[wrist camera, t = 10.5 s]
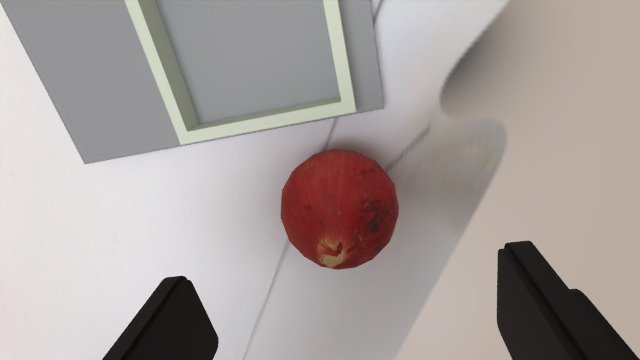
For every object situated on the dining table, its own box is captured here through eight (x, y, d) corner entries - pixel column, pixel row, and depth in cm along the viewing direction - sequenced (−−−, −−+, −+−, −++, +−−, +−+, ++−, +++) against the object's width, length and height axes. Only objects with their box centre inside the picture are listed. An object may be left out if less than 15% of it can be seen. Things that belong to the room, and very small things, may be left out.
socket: (355, 105, 17) (356, 111, 15) (193, 136, 18) (180, 144, 17) (319, -118, 13) (315, -135, 12) (122, -56, 15) (99, -65, 13)
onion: (378, 121, 18) (395, 178, 11) (398, 209, 20) (423, 306, 13) (281, 145, 19) (238, 212, 12) (309, 226, 21) (287, 325, 14)
